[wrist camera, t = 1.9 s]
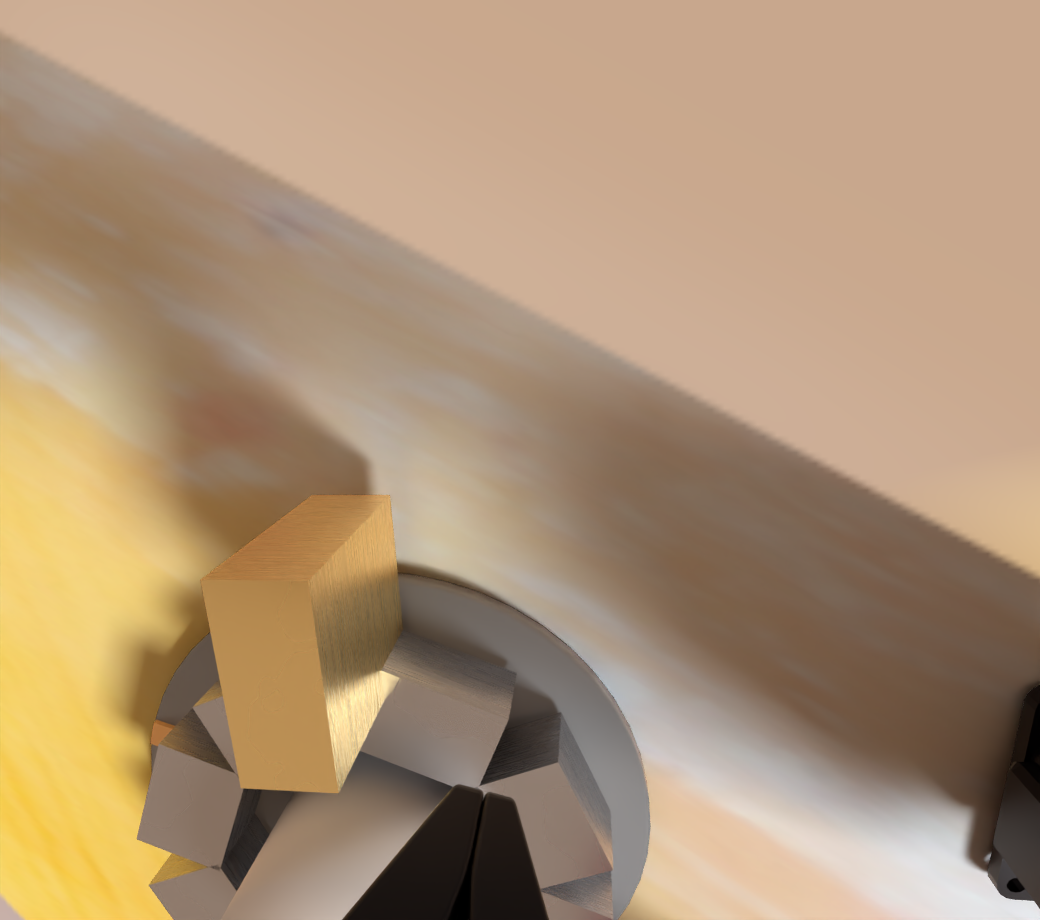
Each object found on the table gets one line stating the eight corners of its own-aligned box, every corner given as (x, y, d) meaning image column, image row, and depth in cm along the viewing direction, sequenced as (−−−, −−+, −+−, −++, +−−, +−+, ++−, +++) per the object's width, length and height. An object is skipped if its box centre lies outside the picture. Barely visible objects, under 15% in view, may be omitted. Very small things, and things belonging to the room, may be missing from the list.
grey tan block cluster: (610, 999, 19) (617, 1217, 14) (219, 965, 20) (117, 1154, 16) (611, 494, 14) (622, 585, 10) (112, 495, 16) (-71, 576, 11)
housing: (653, 574, 16) (683, 703, 11) (644, 997, 20) (662, 1228, 15) (118, 568, 17) (-63, 677, 13) (209, 958, 22) (99, 1157, 17)
